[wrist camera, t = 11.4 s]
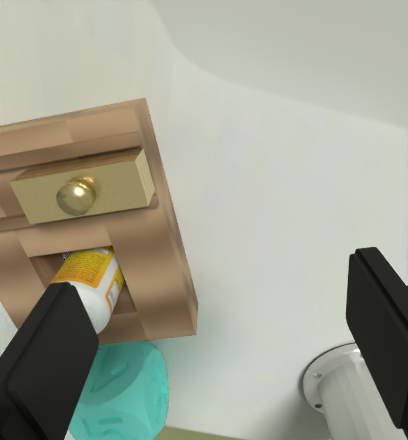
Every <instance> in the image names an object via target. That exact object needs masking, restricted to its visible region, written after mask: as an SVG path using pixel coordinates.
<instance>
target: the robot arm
mask: <svg viewBox="0 0 408 440" xmlns="http://www.w3.org/2000/svg"><path fill="white" fill-rule="evenodd" d="M346 320H347V324H348V327H349V329H350V331H351V333H352V335H353V338H354V340H355V342H356V343H354V344H349V345H345V346H342V347H338V348H335V349H333V350H331V351H329V352H327V353H325V354H324V355H322V356H321V357H319V358H318V359H316V360H315V361H314V362H313V363H312V364H311V365H310V367H309V368H308V369H307V371H306V372H305V375H304V378H303V385H302V386H303V390H304V395H305V398H306V400H307V402H308V403H309V404H310V406H311V407H312V408H314V409H315V410H316V411H318V412H320V413H321V414H323V415H325V418H326V422H327V425H328V429H329V432H330V436H331V439H332V440H408V286H406V285H405V283H404V282H403V281H402V280H401V278H400V277H399V276H398V274H397V273H396V272H395V271H394V269H393V268H392V267H391V265H390V264H389V263H388V261H387V260H386V259H385V258H384V256H383V255H382V254H381V252H380V251H379V250H378V249H377V248H376V247H370V248H361V249H356V251H355V254H351V255H350V257H349V272H348V288H347V304H346ZM98 347H99V338H98V336H97V333H96V331H95V329H94V327H93V325H92V322H91V320H90V318H89V316H88V313H87V311H86V309H85V307H84V304H83V302H82V300H81V298H80V295H79V293H78V291H77V289H76V287H75V286H74V285H71V284H70V283H69V282H67V281H66V282H57V283H51V284H50V285H49V286H48V287H47V288H46V290H45V291H44V293H43V294H42V296H41V297H40V299H39V300H38V302H37V303H36V305H35V306H34V308H33V309H32V311H31V312H30V314H29V315H28V317H27V318H26V320H25V321H24V323H23V324H22V326H21V327H20V329H19V330H18V331H17V333H16V334H15V336H14V337H13V339H12V340H11V342H10V343H9V345H8V346H7V348H6V349H5V351H4V352H3V354H2V355H1V357H0V440H64V438H65V435H66V433H67V430H68V427H69V425H70V422H71V420H72V417H73V414H74V412H75V409H76V406H77V404H78V401H79V398H80V396H81V393H82V390H83V388H84V385H85V382H86V380H87V377H88V374H89V372H90V369H91V366H92V364H93V361H94V359H95V356H96V353H97V351H98Z"/></svg>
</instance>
